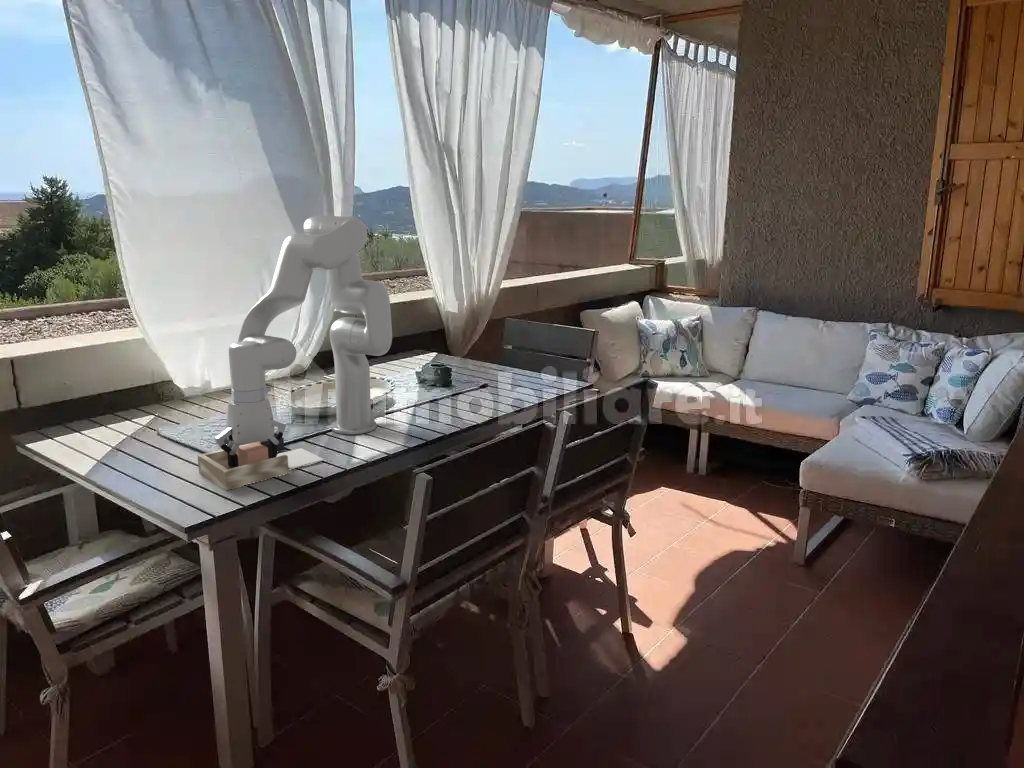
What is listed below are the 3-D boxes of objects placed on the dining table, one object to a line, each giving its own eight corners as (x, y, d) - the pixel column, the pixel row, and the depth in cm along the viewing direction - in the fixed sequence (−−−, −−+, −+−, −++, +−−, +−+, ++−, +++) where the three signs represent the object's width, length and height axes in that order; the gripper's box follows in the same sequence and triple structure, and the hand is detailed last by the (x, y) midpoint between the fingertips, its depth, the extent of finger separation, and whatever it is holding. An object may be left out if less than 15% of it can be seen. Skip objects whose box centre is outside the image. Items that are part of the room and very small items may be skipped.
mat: (300, 450, 190) (300, 448, 189) (323, 461, 182) (323, 459, 182) (268, 458, 183) (268, 456, 183) (290, 470, 176) (290, 468, 176)
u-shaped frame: (259, 458, 183) (258, 441, 182) (288, 473, 174) (287, 456, 173) (199, 473, 173) (197, 455, 172) (226, 490, 163) (224, 472, 162)
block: (259, 465, 179) (257, 442, 177) (269, 471, 175) (267, 447, 174) (239, 470, 175) (237, 447, 174) (249, 476, 172) (247, 452, 170)
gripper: (275, 385, 179) (279, 452, 183) (205, 398, 167) (210, 468, 171) (291, 391, 174) (294, 460, 178) (219, 404, 162) (225, 477, 166)
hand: (253, 464), depth 175 cm, fingers open, 9 cm apart
